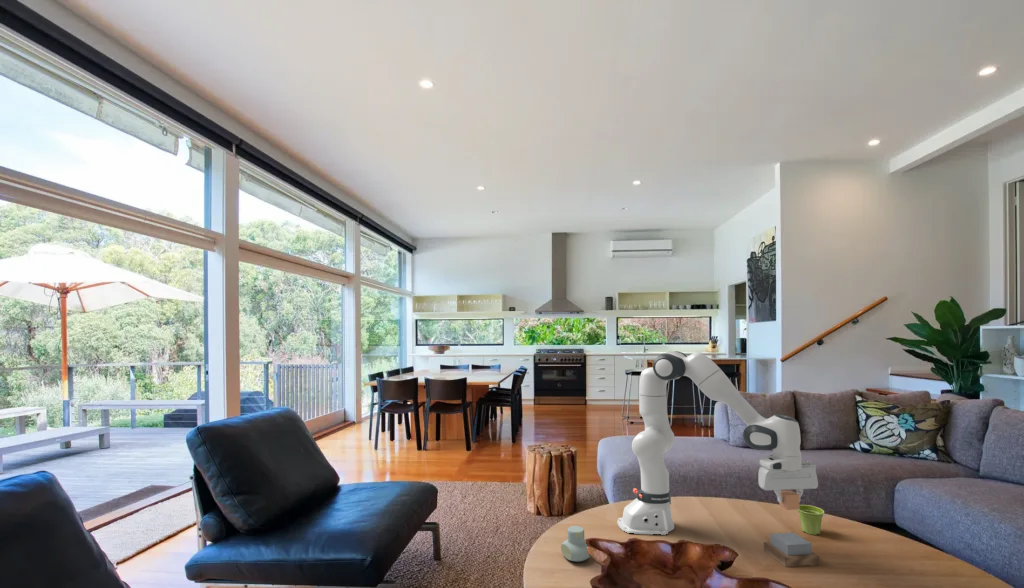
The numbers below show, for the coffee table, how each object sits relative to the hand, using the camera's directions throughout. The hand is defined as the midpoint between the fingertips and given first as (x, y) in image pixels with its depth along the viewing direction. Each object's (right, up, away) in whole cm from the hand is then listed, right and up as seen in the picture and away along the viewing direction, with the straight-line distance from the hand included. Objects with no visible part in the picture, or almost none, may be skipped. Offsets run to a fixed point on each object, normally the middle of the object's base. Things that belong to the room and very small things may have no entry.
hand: (789, 501), depth 173 cm
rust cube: (0, -2, 0) cm, 2 cm away
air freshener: (-75, -20, 0) cm, 78 cm away
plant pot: (+20, -20, +19) cm, 34 cm away
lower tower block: (0, -20, -1) cm, 20 cm away
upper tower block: (0, -16, -1) cm, 16 cm away
